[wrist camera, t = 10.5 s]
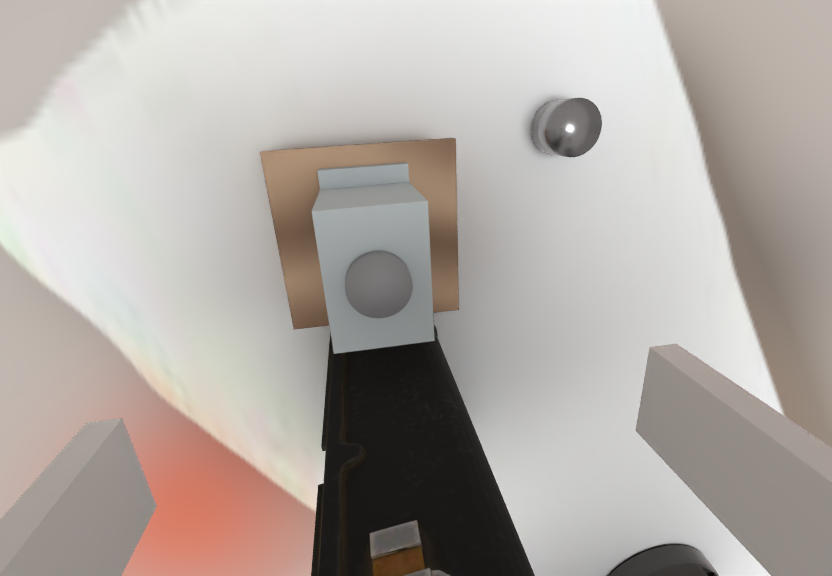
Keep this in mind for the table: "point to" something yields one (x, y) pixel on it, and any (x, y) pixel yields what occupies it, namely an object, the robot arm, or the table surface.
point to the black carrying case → (406, 474)
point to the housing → (374, 257)
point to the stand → (297, 192)
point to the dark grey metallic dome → (566, 127)
